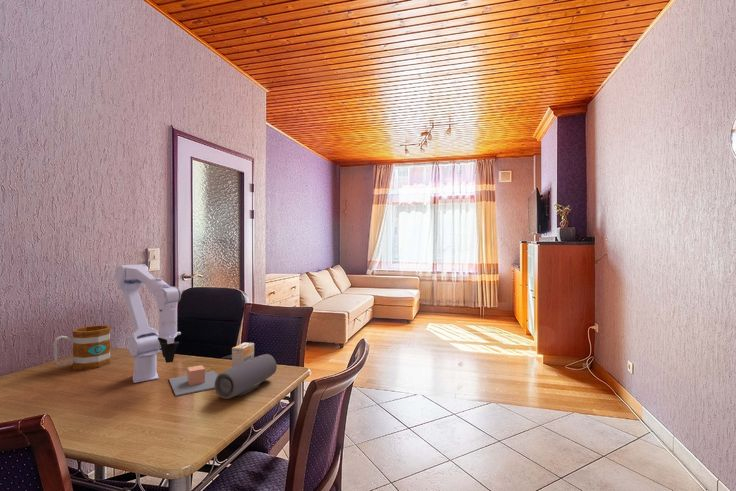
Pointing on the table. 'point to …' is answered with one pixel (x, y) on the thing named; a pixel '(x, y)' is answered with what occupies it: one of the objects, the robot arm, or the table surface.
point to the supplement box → (242, 353)
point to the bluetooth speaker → (245, 376)
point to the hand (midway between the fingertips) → (167, 359)
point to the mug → (88, 347)
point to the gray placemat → (183, 387)
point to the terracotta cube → (196, 375)
